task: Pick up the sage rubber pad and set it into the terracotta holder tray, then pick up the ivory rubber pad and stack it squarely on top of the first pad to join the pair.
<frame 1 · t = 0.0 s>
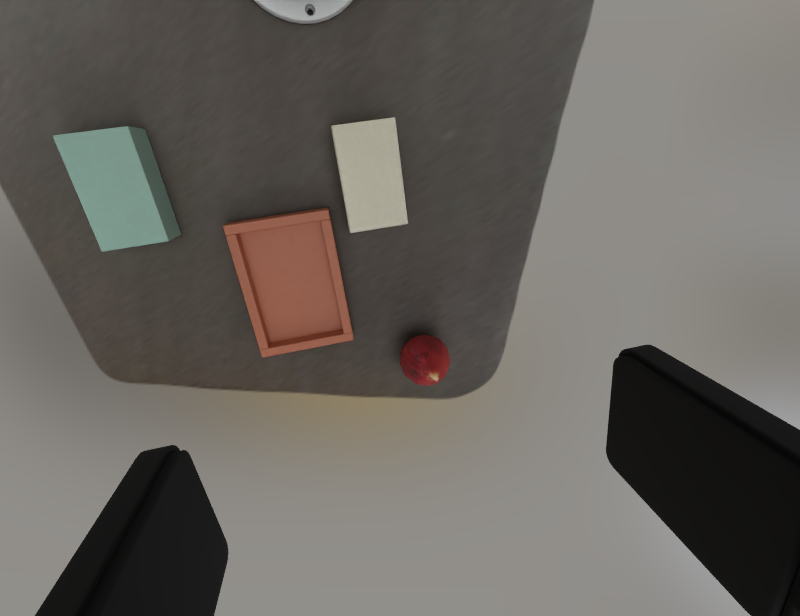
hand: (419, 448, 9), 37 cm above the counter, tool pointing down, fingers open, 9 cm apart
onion: (417, 345, 50), on the counter
holder: (294, 281, 44), on the counter
pad base: (132, 188, 38), on the counter
pad top: (368, 176, 41), on the counter
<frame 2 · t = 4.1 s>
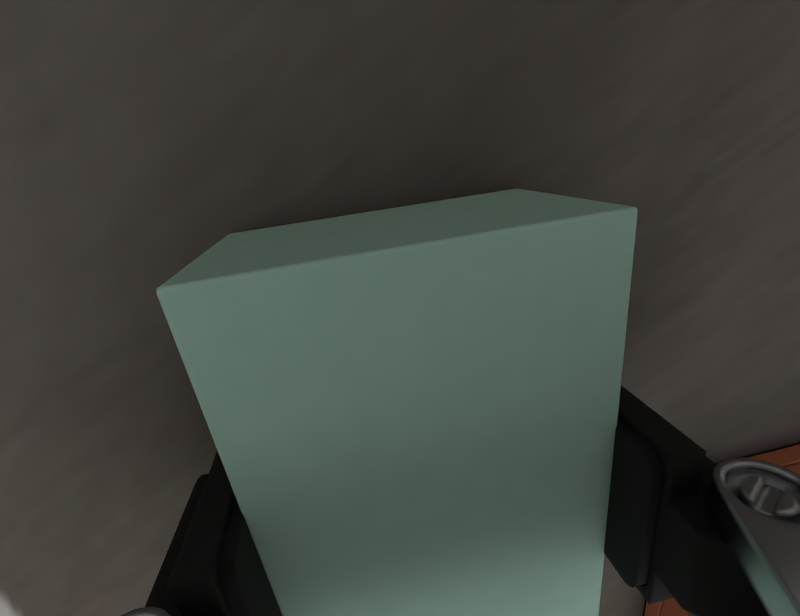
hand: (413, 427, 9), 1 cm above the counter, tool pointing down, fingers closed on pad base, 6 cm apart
holder: (760, 588, 16), on the counter
pad base: (408, 411, 10), on the counter, touching gripper
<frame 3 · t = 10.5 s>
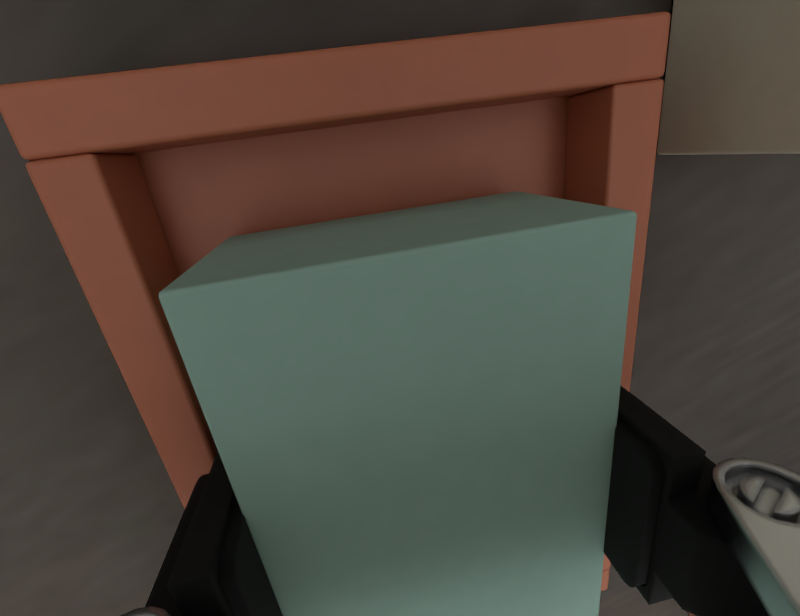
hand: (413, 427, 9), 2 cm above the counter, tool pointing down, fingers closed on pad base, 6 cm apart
holder: (401, 385, 11), on the counter
pad base: (408, 413, 10), point 1 cm above the counter, touching gripper
when the fingers open (2 cm above the counter, at t = 17.8 s): pad base stays where it is, resting on holder.
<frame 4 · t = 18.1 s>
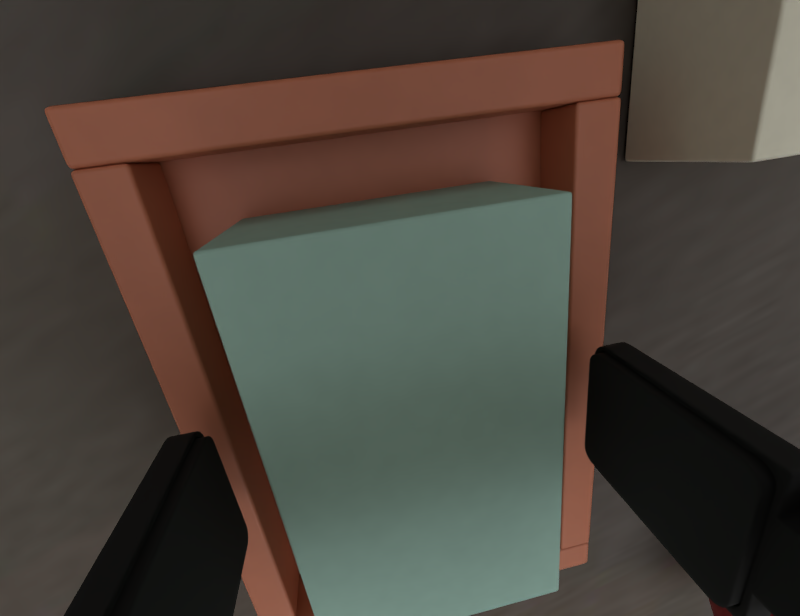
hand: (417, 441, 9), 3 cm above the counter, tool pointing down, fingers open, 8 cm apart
holder: (395, 371, 12), on the counter
pad base: (397, 379, 11), point 1 cm above the counter, touching holder
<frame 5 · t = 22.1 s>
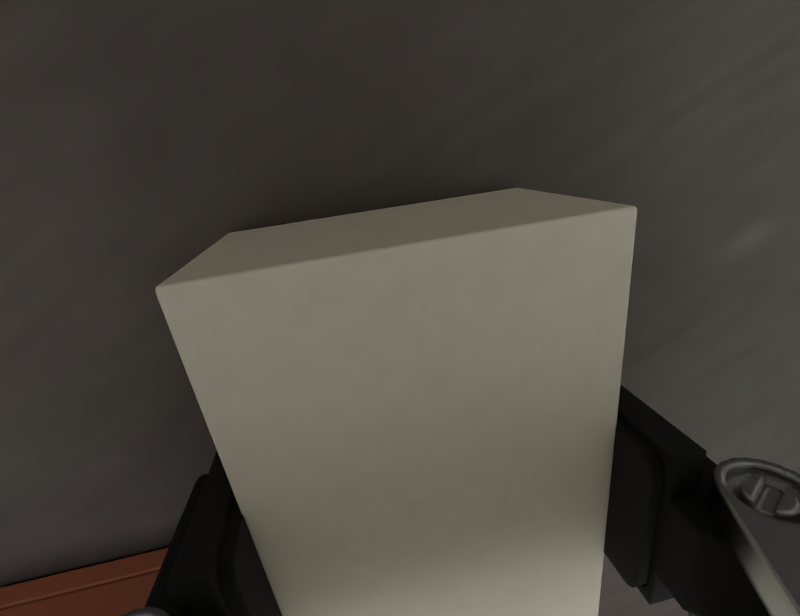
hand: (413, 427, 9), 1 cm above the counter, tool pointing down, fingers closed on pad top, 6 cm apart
pad top: (408, 411, 10), on the counter, touching gripper
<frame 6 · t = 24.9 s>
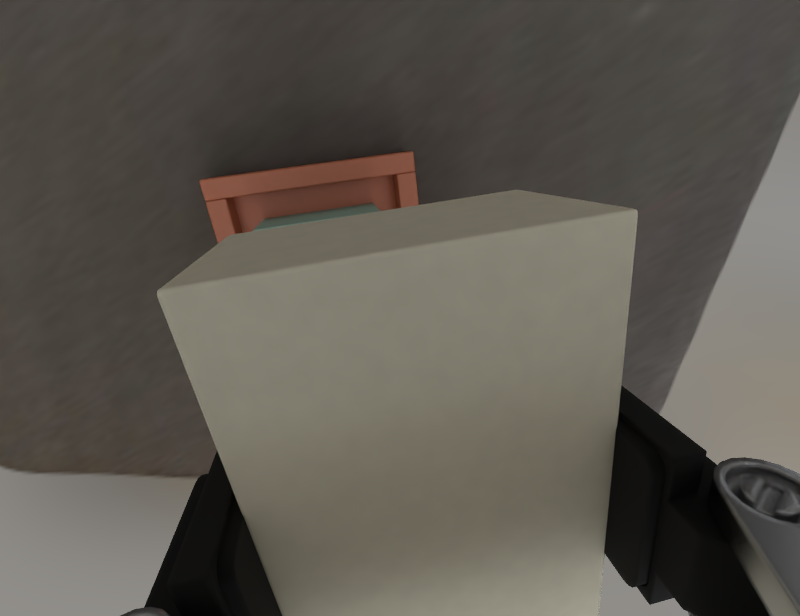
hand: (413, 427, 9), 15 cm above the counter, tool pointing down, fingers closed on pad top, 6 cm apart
holder: (336, 293, 24), on the counter
pad base: (336, 295, 23), point 1 cm above the counter, touching holder
pad top: (408, 412, 10), point 15 cm above the counter, touching gripper
when the fingers open (5 cm above the counter, at t = 28.0 s): pad top stays where it is, resting on pad base.
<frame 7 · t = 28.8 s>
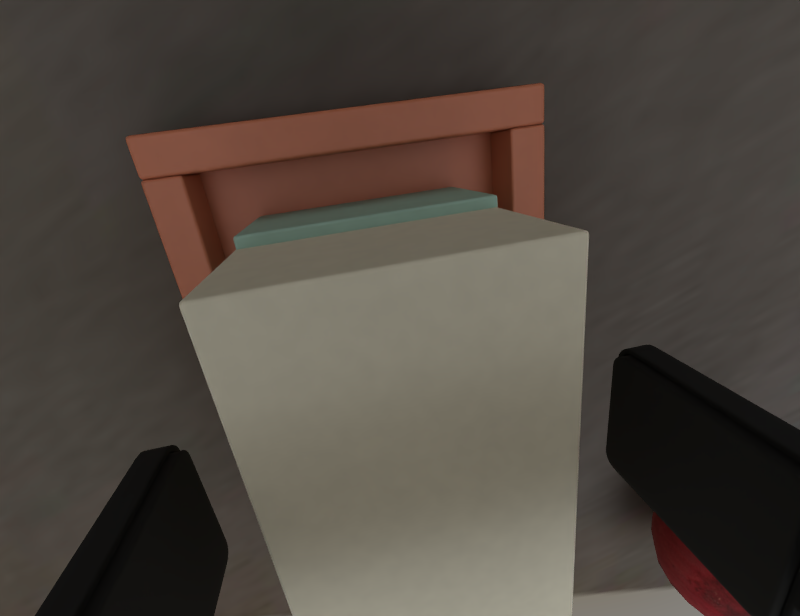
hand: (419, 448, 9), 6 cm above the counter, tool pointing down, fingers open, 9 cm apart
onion: (663, 482, 20), on the counter
holder: (381, 341, 14), on the counter
pad base: (382, 346, 14), point 1 cm above the counter, touching holder, pad top
pad top: (400, 411, 11), point 4 cm above the counter, touching pad base
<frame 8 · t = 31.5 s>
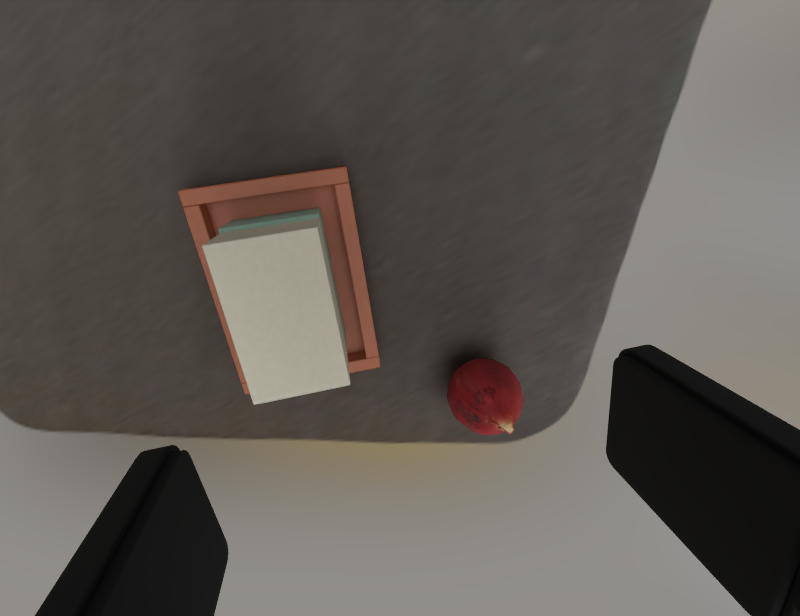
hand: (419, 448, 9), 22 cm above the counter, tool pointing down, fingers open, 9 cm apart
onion: (468, 371, 35), on the counter
holder: (293, 281, 29), on the counter
pad base: (292, 282, 29), point 1 cm above the counter, touching holder, pad top
pad top: (289, 301, 26), point 4 cm above the counter, touching pad base
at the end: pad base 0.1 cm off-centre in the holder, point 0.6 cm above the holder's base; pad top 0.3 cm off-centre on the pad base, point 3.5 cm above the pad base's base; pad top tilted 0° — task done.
